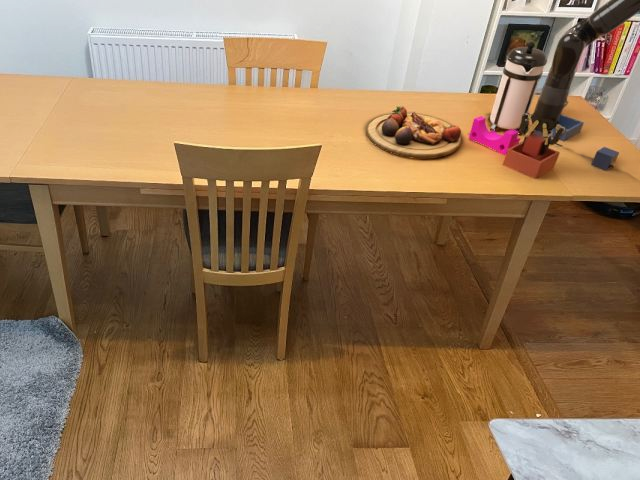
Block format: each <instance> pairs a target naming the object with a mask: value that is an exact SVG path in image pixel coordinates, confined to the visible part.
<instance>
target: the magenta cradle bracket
mask: <svg viewBox="0 0 640 480" xmlns="http://www.w3.org/2000/svg"><path fill="white" fill-rule="evenodd" d="M486 119H487V118H486V117H484V116H482V115H480V116H477V117H474V118H473V121H472V124H471V128H470V132H469V135H468V139H469V138H470V139H472V140H474V141H477V142H479V143H481V144H484V145H486V146H488V147H490V148H492V149H494V150H496V151H498V152H500V153H502V154H504V155H503V156H505V155H506V153H507V150H508V149H509V148H511V147H513V146H515V145H517V144H519V143H520V142H521V138H520V137H518V136H519V135H518V133H519V132H517V131H516V130H515V129H508V130H505V132H504V133H503V134H499V133H497V132H496V130H495V131H494V130H492V131H491V130H489V129H488V128H487V124H486V123H487V122H486V121H487V120H486ZM470 139H469V140H470ZM472 140H471V141H472ZM474 141H473V142H474ZM494 150H493V151H494ZM496 151H495V152H496ZM498 152H497V153H498ZM500 153H499V154H500ZM502 154H501V155H502Z"/></svg>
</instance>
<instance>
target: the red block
mask: <svg viewBox="0 0 640 480" xmlns="http://www.w3.org/2000/svg"><path fill="white" fill-rule="evenodd" d="M543 144H544V137H543V135H540V134H538V133H533V134H531V135H529V136H528V137H527V138H526V141H525V144H524V147H523V149H522V151H523V152H525V153H528V154H530V155H532V156H535V157H537V156H539V153H540V150H541V148H542V145H543Z"/></svg>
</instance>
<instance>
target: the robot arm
mask: <svg viewBox="0 0 640 480" xmlns="http://www.w3.org/2000/svg"><path fill="white" fill-rule="evenodd" d="M638 13H640V0H609V1H607V2H605V4H603V5H601V6H600V7H599V8H597V9H596V10H595V11H594V12H593V13H591V14H590V15H589V16H587V17H586V18H584V19H582V20H581V21H579V22H578V23H576V24H574V25H573V26H571V27H570V28H569V29H567V30H566V31H565V32H564V33H563V34H562V36H561V37H560V38H559V39H558V41H557V44H556V47H555V50H554V54H553V58H552V62H551V67H550V68H549V70H548V73H547V76H546V79H545V81H544V84H543V86H542V88H541V91H540V92H539V96H538V99H537V101H536V104H535V108H534V111H533V113H532V114H531V113H529V112H528V113H526V114H524V115H522V121H521V131H520V130H519V131H520V133H523V134H522V135H524V139H523V140H522V141H523V144H522V145H523V147H524V144H525V141H526V138H527V137H528V136H529V135H531V134H533V133H534V132H535V131H540V132H541V133H543V137H544V144H543V145H542V148H541V150H540V153H539V155H543V154H545V153H546V152H547V150H548V148H550V146H554V145H556V144H555V143H557V144H558V142H559V141H560V140H559V139H560V138H561V136H562V135H563V133H564V132H565V131H566V130H568V129H567V128H566V127H565V126H564V127H562V126H561V125H559V118H560V115H561V114H562V113H563V111H564V109H563V107H564V105H565V102H566V101H568V97H569V94H570V90H571V86H572V83H573V82H574V78H575V75H576V70H577V66H578V64H579V61H580V58H581V57H582V54H583V52H584V50H585V48H588V46H590V45H591V44H592V43H594V42H595V41H596V40H597V39H599V38H601V37H604V36H606V35H608V34H610V33H611V32H613V31H614V30H616V29H617V28H618V27H620V26H621V25H623V24H624V23H625V22H627V21H629V20H630V19H631V18H632V17H634V16H636V15H637V14H638ZM562 110H563V111H562ZM530 121H531V123H532V124H531V126H530V127H529V124H530ZM555 127H556V132H557V133H556V135H555V136H554V137H552V134H553V129H554V128H555Z"/></svg>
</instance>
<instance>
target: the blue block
mask: <svg viewBox="0 0 640 480" xmlns="http://www.w3.org/2000/svg"><path fill="white" fill-rule="evenodd" d="M619 155H620V152H619V151H616V150H614V149H611V148H609V147H606V146H602V147H601V148H600V149H598V150H597V151H596V153H595V155H594V158H593V160H592V162H591V166H593V167H595V168H597V169H600V170H603V171H608V170H610V169H611V168H613V167H614V165H613V163H615V162H616V161H617V159H618V156H619Z"/></svg>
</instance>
